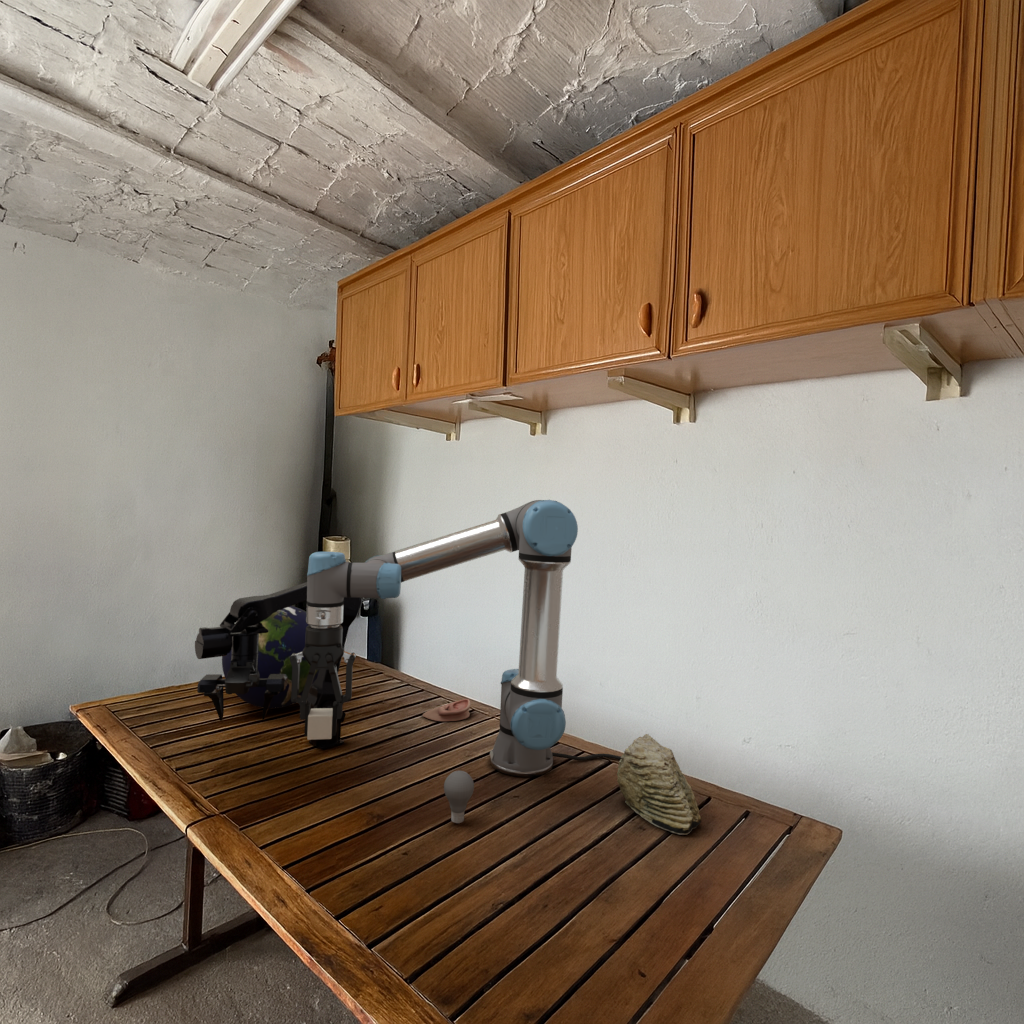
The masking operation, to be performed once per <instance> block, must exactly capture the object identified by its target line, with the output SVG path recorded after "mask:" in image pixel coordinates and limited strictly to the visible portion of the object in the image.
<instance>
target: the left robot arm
mask: <svg viewBox="0 0 1024 1024" xmlns="http://www.w3.org/2000/svg"><path fill="white" fill-rule="evenodd" d="M362 600H363V599H362V598H357V597H351V598H348V597H344V599H343V622H342V623H341V624H340V625H341V626H342V627H343V631H342V646H343V648H344V649H345V645H346V642H347V637H348V634H349V630H350V626H351V625H352V624H353V623H354V621H355V620H356V618H357V617H358V614H359V612H360V610H361V607H362V603H363V601H362ZM304 602H307V581H306V582H305V581H304V582H303V583H300V584H296V585H294V586H291V587H288V588H284V589H282V590H279V591H276V592H272V593H270V594H265V595H264V594H263V595H252V596H246V597H240V598H237V599H235V600H234V601H233V602H232V604H231V605H230V609H229V612H228V613H227V614H226V616H225V618H223V620H222V621H221V622H220V624H219V626H212V627H199V629H198V633H197V635H196V637H195V638H196V639H195V641H194V651H195V652H194V653H195V656H196V658H197V659H198V660H204V659H212V658H220V657H221V658H222V656H226V655H227V654H228V653H230V651H231V649H232V658H231V664H230V669H229V671H228V674H227V677H226V679H225V678H223V674H213V673H212V674H211V673H210V674H207V673H206V674H205V675H204V676H203V677H201V679H200V680H199V681H198V682H197V689H196V690H197V694H203V696H204V697H208V698H209V699H210V700H211V701H212V704H213V705H214V708H215V711H216V714H217V716H218V719H219V721H223V720H224V712H225V710H224V709H225V708H224V707H225V706H224V691H225V694H226V695H233V694H234V695H236V694H238V693H240V694H246V693H248V692H249V688H252V687H266V689H267V691H266V692H265V694H264V705H263V708H262V712H261V721H264V720H265V719H266V715H267V713H268V711H269V709H270V708H269V705H270V703H271V700H272V698H273V696H274V695H278V694H279V692H283V691H284V690H285V688H286V686H287V682H288V677H287V675H286V674H270V675H269V677H268V678H260V675H259V671H258V644H259V634H260V633H267V632H268V629H266V628H265V627H264V626H263V625H262V623H260V622H262V621H263V620H265V619H267V618H268V617H269V616H271V615H272V614H273V613H275V612H276V611H278V610H281V609H284V608H287V607H290V606H295V605H297V604H301V603H304ZM342 658H343V657H341V659H340V660H339V661H338V662H337V664H336V667H337V673H338V674H339V671H340V666H341V662H342ZM224 689H225V690H224ZM334 701H336V698H335V694H334V690H333V685H332V681H331V676H330V674H329V670H326V669H319V673H318V677H317V679H316V680H315V681H314V683H313V684H312V685H311V689H310V692H309V695H308V699H307V702H311V709H315V708H333V703H334ZM311 709H310V710H311ZM346 715H347V714H346V712H344V711H343V713H342V717H341V719H337V731H336V735H335V736H332V738H331V739H316V740H308V743H309V744H310V745H313V746H314V747H316V748H318V749H320V750H327V749H329V748H333V747H336V746H340V745H343V744H344V743H345V741H344V740H343V739H341V737H342V735H341V733H342V723H344V721H345V719H346Z"/></svg>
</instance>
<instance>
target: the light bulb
mask: <svg viewBox="0 0 1024 1024" xmlns="http://www.w3.org/2000/svg"><path fill="white" fill-rule="evenodd" d="M474 790H475V782H474V779H473V777H472V776H471V775H470V774H469V773H468V772H467V771H465V770H455V771H452V772H450V774H448V775H447V777H446V778H445V780H444V782H443V792H444V796H445V798H446V799H447V801H448V803H449V809H450V811H451V813H450V814H451V818H450V821H451V822H452V823H455V824H460V823H463V822H464V821H465V811H466V809H467V805H468V803H469V801H470V800H471V797H472V796H473V794H474Z"/></svg>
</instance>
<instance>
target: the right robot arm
mask: <svg viewBox="0 0 1024 1024" xmlns="http://www.w3.org/2000/svg"><path fill="white" fill-rule="evenodd" d="M578 527H579V526H578V521H577V519H576V516H575V514H574V513H573V512H572V510H571V509H570V508H569V507H568V506H566V505H565V504H563V503H562V502H560V501H558V500H554V499H536V500H535V499H534V500H531V501H529V502H526V503H525V504H522V505H520V506H518V507H516V508H513V509H511V510H508V511H506V512H502V513H499V514H498V515H497V517H496V518H495V519H493V520H491V521H487V522H485V523H481V524H478V525H475V526H472V527H469V528H465V529H462V530H458V531H455V532H452V533H449V534H446V535H442V536H439V537H436V538H433V539H429V540H426V541H422V542H420V543H417V544H413V545H410V546H407V547H404V548H400V549H397V550H395V551H391V552H388V553H385V554H381V555H378V554H377V555H374V556H371V557H369V558H368V559H367V560H366V561H365V562H352V561H347V559H346V555H345V553H344V552H339V551H315V552H313V553H311V554H310V555H309V558H308V567H307V573H306V578H307V579H306V582H307V601H306V609H305V610H306V623H307V624H308V626H307V627H306V636H305V648H304V649H303V651H302V652H300V653H297V654H296V653H293V654H292V655H291V657H290V662H291V665H292V687H291V701H292V702H296V703H295V704H298V705H299V719H300V721H304V730H303V732H304V735H303V737H304V738H307V732H308V715H309V713H310V709H311V702H307V699H308V695H309V692H310V689H311V685H312V682H313V678H314V675H315V672H316V670H319V669H326V670H329V674H330V676H331V681H332V685H333V690H334V694H335V698H336V701H334V703H333V716H332V736H335V735H336V731H337V719H341V717H342V713H343V712H344V711H343V709H344V708H343V707H344V703H347V702H351V700H352V697H353V671H354V670H353V666H354V663H355V660H356V657H357V654H356V653H355V652H348V651H345V647H344V648H343V646H342V631H343V627H342V626H341V625H340V624H341V623H342V622H343V599H344V597H348V598H351V597H357V598H361V599H363V598H364V599H381V600H386V599H397V598H399V597H400V595H401V589H402V583H404V582H406V581H410V580H413V579H416V578H420V577H422V576H426V575H430V574H433V573H436V572H439V571H442V570H445V569H448V568H452V567H454V566H458V565H462V564H464V563H467V562H471V561H474V560H478V559H480V558H484V557H488V556H490V555H493V554H497V553H499V552H503V551H507V552H508V553H513V552H517V551H518V561H519V562H520V563H521V564H522V565H523V567H524V573H523V575H524V576H523V592H522V607H521V608H522V609H521V624H520V640H519V657H518V658H519V659H518V668H511V669H507V670H504V671H503V672H502V675H501V681H500V686H501V687H500V707H499V709H500V710H499V729H498V734H497V737H496V739H495V742H494V745H493V748H492V749H490V751H489V757H490V766H491V767H492V768H493V769H494V770H496V771H497V772H500V773H501V774H504V775H508V776H513V777H521V778H522V777H523V778H529V777H531V778H532V777H538V776H542V775H545V774H547V773H549V772H550V771H551V770H552V769H553V767H554V757H555V758H562V759H568V760H573V761H579V762H581V761H582V762H583V761H589V760H593V759H598V758H599V759H601V758H606V759H612V760H617V761H620V759H622V758H621V756H622V755H616V754H611V753H594V754H590V755H586V756H585V755H584V756H576V755H571V754H566V753H560V752H553V751H552V748H551V747H554V745H556V744H557V743H558V742H559V741H561V739H562V737H563V735H564V733H565V730H566V726H567V721H566V714H565V711H564V710H563V695H564V694H563V691H564V684H563V682H562V681H561V680H560V679H559V678H558V664H559V663H558V661H559V645H560V629H561V615H562V614H561V613H562V612H561V611H562V598H563V597H562V596H563V581H564V570H565V569H566V568H567V567H568V566H569V565H570V564H571V563H572V562H571V561H572V547H573V546H574V544H575V542H576V540H577V538H578V532H579V528H578ZM302 657H304V658H305V659H306V661H307V662H308V663H309V665H310V669H309V673H308V676H307V680H306V683H305V687H304V690H303V693H302V696H300V695H299V675H300V663H301V661H302ZM341 657H342V658H343V659H344V660H343V662H344V663H345V664H346V665H345V693H344V694H343V691H342V687H341V682H340V678H339V672H338V673H337V667H336V664H337V662H338V661H339V660H340V659H341ZM341 660H342V659H341Z"/></svg>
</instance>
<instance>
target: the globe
mask: <svg viewBox="0 0 1024 1024" xmlns="http://www.w3.org/2000/svg"><path fill="white" fill-rule="evenodd" d="M260 623H262V625H263V626H264V627H265V628H266V629H268V632H267V633H260V634H259V644H258V671H259V675H260V678H268V677H269V675H270V674H286V675H287V677H288V682H287V686H286V688H285V690H284V691H283V692H279V694H278V695H274V696H273V698H272V700H271V703H270V705H269V708H268V709H282V708H285V707H289V706H293V705H295V704H297V703H296V702H292V701H291V687H292V665H291V662H290V657H291V655H292V654H293V653H296V654H297V653H300V652H302V651H303V649H304V648H305V636H306V627H307V626H308V624H307V623H306V611H305V610H304V609H302V608H299V607H297V606H294V605H292V606H290V607H287V608H284V609H281V610H278V611H276V612H275V613H273V614H272V615H271V616H269V617H268V618H267V619H265V620H263V621H262V622H260ZM231 658H232V649H231V651H230V653H228V654H227V655H226V656H221V666H222V672H223V676H224V679H226V677H227V674H228V671H229V669H230V664H231ZM309 669H310V665H309V663H308V662H307V661H306V659H305V658H304V657H302V661H301V663H300V675H299V695H300V696H302V693H303V690H304V687H305V683H306V680H307V676H308V673H309ZM318 673H319V670H316V672H315V675H314V678H313V682H312V684H313V683H314V681H315V680H316V679H317V677H318ZM266 691H267V689H266V687H252V688H249V692H248V693H246V694H240V693H238V694H235V695H236V696H237V697H238V698H239V699H240V700H242V701H244V702H245V703H247V704H248V705H251V706H254V707H258V708H262V709H263V705H264V694H265V692H266Z"/></svg>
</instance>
